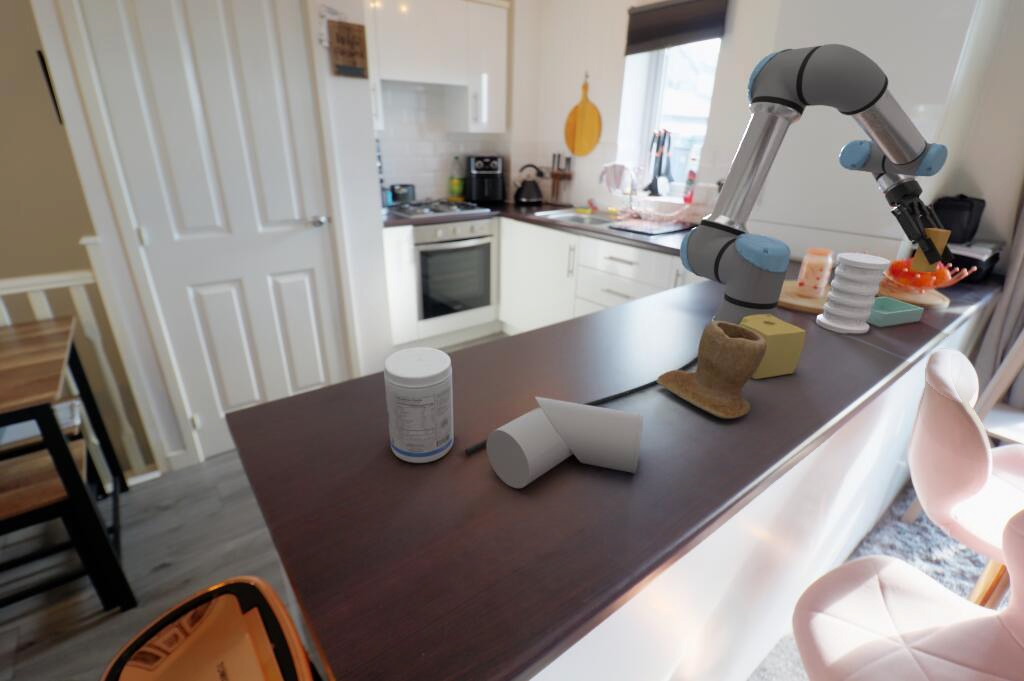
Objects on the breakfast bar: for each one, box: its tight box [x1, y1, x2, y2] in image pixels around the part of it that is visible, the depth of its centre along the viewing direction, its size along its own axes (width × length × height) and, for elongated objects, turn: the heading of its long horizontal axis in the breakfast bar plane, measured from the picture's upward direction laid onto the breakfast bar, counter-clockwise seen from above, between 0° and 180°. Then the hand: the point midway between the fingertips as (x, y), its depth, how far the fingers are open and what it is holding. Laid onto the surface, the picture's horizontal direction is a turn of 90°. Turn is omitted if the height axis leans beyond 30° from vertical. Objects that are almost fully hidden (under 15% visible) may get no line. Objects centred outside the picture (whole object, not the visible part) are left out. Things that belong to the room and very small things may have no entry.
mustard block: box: [909, 228, 952, 274], centre depth 127 cm, size 4×4×11 cm
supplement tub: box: [383, 346, 454, 464], centre depth 70 cm, size 10×10×15 cm
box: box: [866, 295, 925, 328], centre depth 129 cm, size 15×10×4 cm
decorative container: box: [815, 252, 892, 335], centre depth 121 cm, size 12×12×18 cm
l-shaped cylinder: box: [485, 396, 644, 489], centre depth 68 cm, size 18×11×20 cm
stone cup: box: [656, 321, 766, 420], centre depth 85 cm, size 15×12×15 cm
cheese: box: [739, 314, 807, 380], centre depth 99 cm, size 10×11×10 cm
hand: (942, 261), depth 125 cm, fingers closed on mustard block, 4 cm apart
